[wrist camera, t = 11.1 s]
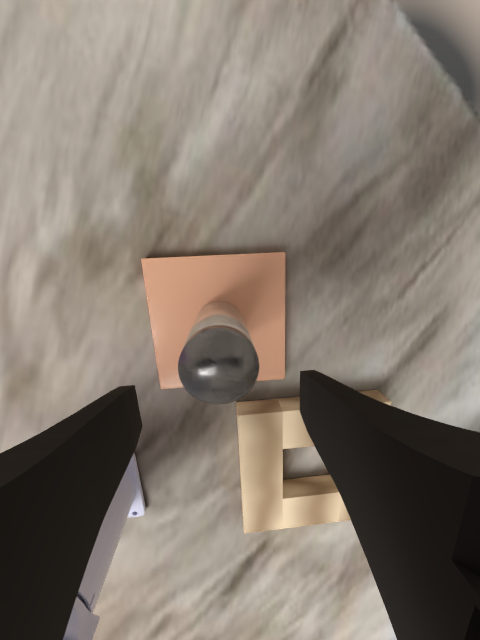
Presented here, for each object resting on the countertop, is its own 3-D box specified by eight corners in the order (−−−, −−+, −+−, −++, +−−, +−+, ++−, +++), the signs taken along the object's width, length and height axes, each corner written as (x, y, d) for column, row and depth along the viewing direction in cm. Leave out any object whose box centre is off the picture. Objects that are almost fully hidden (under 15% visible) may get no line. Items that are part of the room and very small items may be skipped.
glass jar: (198, 349, 20) (183, 408, 12) (192, 302, 18) (172, 333, 11) (245, 344, 20) (261, 399, 12) (242, 298, 19) (257, 326, 11)
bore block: (242, 512, 26) (244, 533, 24) (236, 402, 22) (237, 415, 20) (363, 498, 27) (375, 516, 25) (376, 389, 23) (391, 401, 21)
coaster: (162, 384, 21) (160, 389, 20) (144, 258, 18) (141, 258, 17) (282, 374, 22) (284, 378, 21) (282, 252, 19) (285, 252, 18)
